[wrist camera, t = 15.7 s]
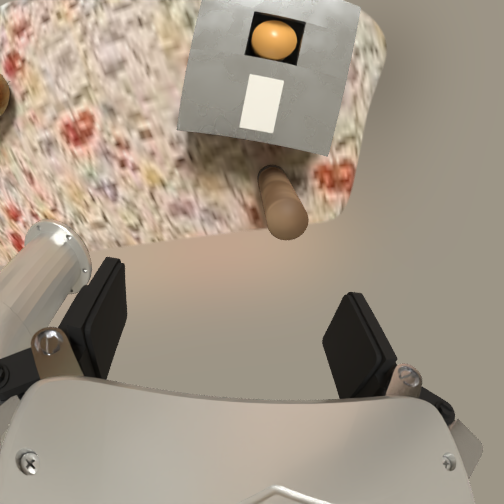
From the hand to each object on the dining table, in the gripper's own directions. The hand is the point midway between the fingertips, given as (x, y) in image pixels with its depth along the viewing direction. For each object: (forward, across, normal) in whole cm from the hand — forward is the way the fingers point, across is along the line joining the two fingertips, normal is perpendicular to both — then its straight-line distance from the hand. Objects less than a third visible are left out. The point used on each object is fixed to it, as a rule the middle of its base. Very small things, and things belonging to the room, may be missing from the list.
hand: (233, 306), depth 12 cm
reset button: (+22, -1, -15) cm, 26 cm away
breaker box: (+23, -1, -13) cm, 26 cm away
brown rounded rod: (+23, -5, 0) cm, 23 cm away
